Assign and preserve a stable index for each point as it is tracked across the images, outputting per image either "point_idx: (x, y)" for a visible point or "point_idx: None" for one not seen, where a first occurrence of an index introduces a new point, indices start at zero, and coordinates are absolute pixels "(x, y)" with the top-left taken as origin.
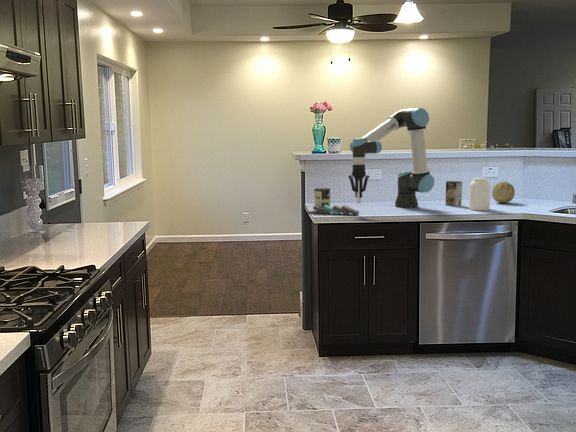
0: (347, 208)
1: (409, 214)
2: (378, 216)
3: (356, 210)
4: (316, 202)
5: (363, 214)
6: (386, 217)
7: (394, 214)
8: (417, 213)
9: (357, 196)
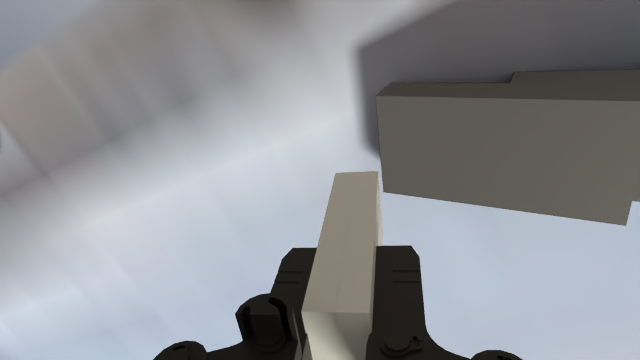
0: (531, 102)
1: (27, 307)
2: (140, 124)
3: (416, 185)
4: None
5: None
6: (36, 92)
7: (109, 278)
8: (23, 356)
9: (359, 244)
